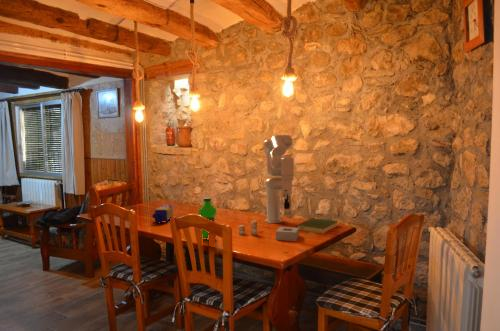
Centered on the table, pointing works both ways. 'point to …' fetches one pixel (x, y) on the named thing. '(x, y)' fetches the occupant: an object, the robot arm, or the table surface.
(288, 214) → the long dowel
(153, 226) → the table surface
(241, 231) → the short dowel
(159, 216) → the toy truck
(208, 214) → the plastic bottle
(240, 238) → the table surface
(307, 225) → the hardcover book
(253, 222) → the medium dowel
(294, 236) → the socket block
